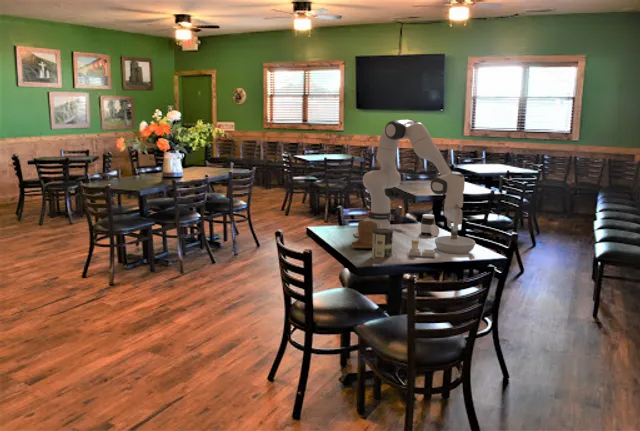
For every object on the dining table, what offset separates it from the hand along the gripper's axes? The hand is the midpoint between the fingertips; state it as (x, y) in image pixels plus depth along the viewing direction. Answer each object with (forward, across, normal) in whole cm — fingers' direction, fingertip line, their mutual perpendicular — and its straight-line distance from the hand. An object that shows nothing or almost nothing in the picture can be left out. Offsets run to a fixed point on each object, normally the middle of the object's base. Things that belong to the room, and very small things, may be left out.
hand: (451, 228), depth 296 cm
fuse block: (+13, -11, +18) cm, 25 cm away
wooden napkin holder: (+14, +10, +44) cm, 48 cm away
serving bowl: (+13, 0, -2) cm, 13 cm away
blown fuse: (+6, -1, -1) cm, 6 cm away
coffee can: (+14, -10, +38) cm, 42 cm away
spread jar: (+14, +41, 0) cm, 44 cm away
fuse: (+12, -10, +22) cm, 27 cm away
